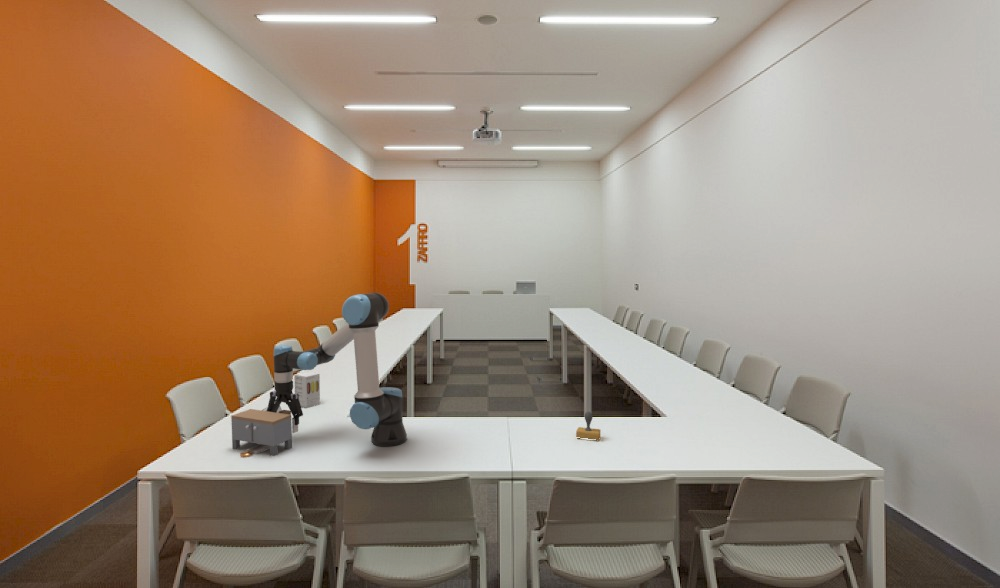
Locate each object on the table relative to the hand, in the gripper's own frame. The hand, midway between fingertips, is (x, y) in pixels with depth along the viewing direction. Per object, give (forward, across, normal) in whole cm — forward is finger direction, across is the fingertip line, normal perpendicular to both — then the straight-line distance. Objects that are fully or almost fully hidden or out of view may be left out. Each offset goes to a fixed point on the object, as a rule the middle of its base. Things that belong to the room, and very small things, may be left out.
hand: (285, 430), depth 231 cm
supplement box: (+4, +26, -44) cm, 51 cm away
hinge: (+4, +18, -11) cm, 22 cm away
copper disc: (+4, 0, +21) cm, 22 cm away
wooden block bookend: (+3, 0, +9) cm, 9 cm away
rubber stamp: (+4, -124, -49) cm, 133 cm away
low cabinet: (+3, 0, +13) cm, 13 cm away
